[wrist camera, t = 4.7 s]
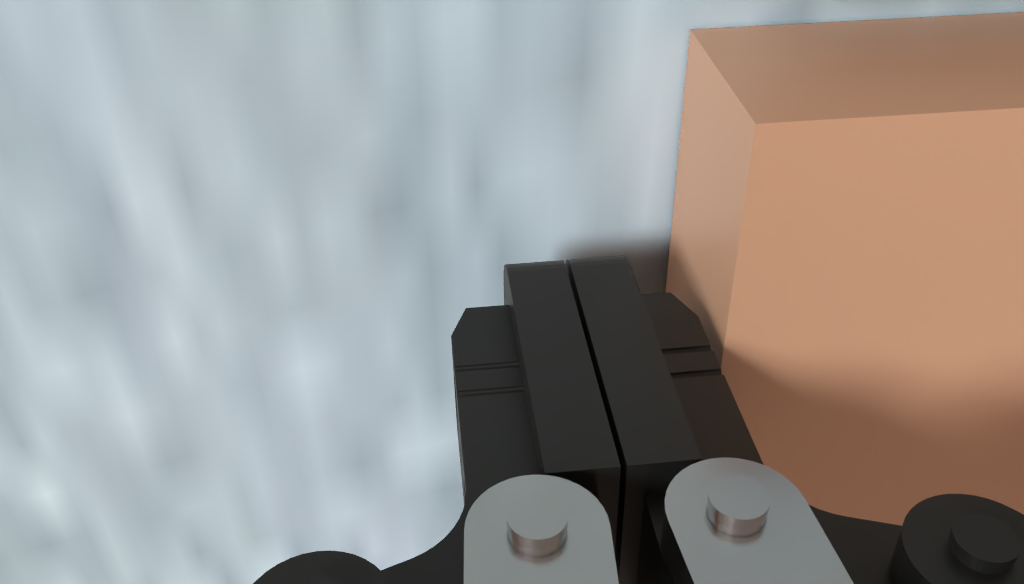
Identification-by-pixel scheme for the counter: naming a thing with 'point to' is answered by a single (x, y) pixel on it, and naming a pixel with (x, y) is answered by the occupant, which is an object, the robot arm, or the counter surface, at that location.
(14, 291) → the counter surface
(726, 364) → the light orange flat block
